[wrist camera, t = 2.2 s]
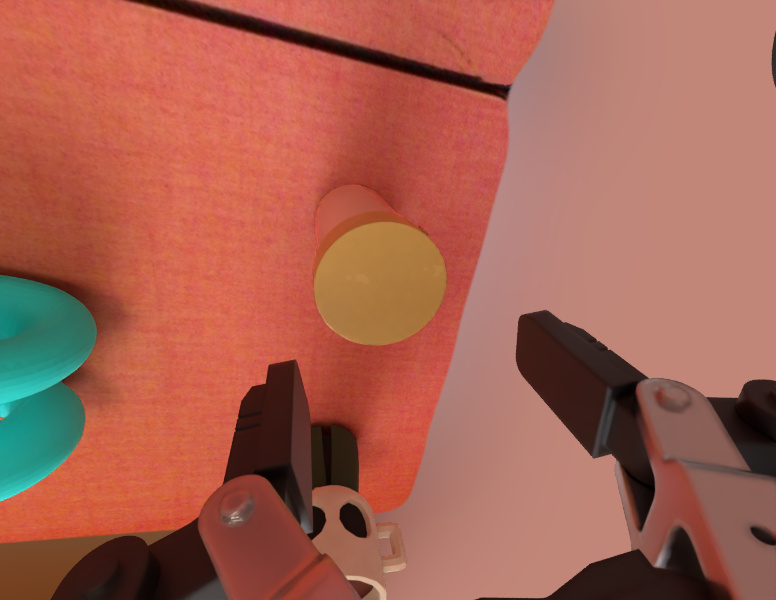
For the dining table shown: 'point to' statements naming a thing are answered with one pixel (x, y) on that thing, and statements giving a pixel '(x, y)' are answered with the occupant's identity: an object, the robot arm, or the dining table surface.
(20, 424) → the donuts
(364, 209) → the jar
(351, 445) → the character mug
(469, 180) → the dining table surface
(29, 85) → the dining table surface
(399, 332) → the lid
